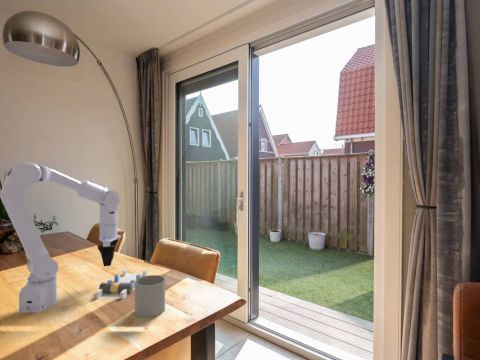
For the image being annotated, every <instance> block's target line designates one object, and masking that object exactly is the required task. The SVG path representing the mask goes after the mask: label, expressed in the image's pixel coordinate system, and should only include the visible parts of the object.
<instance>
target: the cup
mask: <svg viewBox="0 0 480 360" xmlns="http://www.w3.org/2000/svg"><path fill="white" fill-rule="evenodd" d="M165 311H166V277H164V276H162V275H158V274H157V275H156V274H154V275H152V274H151V275H146V276H144V277H140V278H138V279H137V280H136V281H135V288H134V315H135V316H136V317H138V318H141V319H150V318H155V317H158V316H161V315H163V313H165Z"/></svg>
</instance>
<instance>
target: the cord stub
mask: <svg viewBox="0 0 480 360" xmlns="http://www.w3.org/2000/svg"><path fill="white" fill-rule="evenodd" d="M132 288H133V284H132V283H115V282H112V283H107V282H101V283H100V284H99V287H98V290H99V289H102V293H121V292H122V291H123V290H124V289H127V293H129V294H131V293H132V291H133V290H132Z"/></svg>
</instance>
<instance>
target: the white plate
mask: <svg viewBox="0 0 480 360" xmlns="http://www.w3.org/2000/svg"><path fill="white" fill-rule="evenodd" d="M128 269H129V268H124V269H123V270H122V276H121V274H114V276H113V277H114V282H113V279H107V282H106V283H132V284H133V288H132V291H133V290H135V281H136V280H137V279H138V278H140V277H144V276H148V272H149V268H144V269H143V270H142V273H129V272H128V271H129V270H128ZM129 294H130V293H127V289H124V290H123V291H122V292H121V293H102V289H99V288H98V290H97V291H96V292H95V293H94V299H95V300H124V299H126V297H127V296H128V295H129Z"/></svg>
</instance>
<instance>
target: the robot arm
mask: <svg viewBox="0 0 480 360" xmlns="http://www.w3.org/2000/svg"><path fill="white" fill-rule="evenodd" d="M38 182H51V183H54V184H57V185H60V186H62V187H65V188H69V189H71V190H73V191H75V192H76V194H77V196H78V197H81V198H84V199H86V200H87V201H88V200H89V201H91V202H94V203H98V205H99V237H98V240H99V241H100V242H101V244H100V245H97V250H98V251H99V253H100V255H101V260H102V264H103V267H111V266H112V262H113V259H114V256H115V251H116V247H117V243H118V242H119V239H121V238H122V235H118V207H119V204H120V203H121V201H122V200H121V199H122V198H121V197H120V195H119V193H118V192H117V191H116V190H111V189H108V187H107V186H102V185H99V184H97V183H95V180H92V179H89V180H88V179H85V180H82V181H79V180H78V179H76V178H73V177H71V176H68V175H66V174H64V173H62V172H59V171H58V170H55V169H53V168H50V167H47V166H44V165H39V164H36V163H34V162H31V161H24V162H19V163H16V164H14V165H13V166H12V167H11V168H10V169H9V170H8V171H7V172H6V173H5V179H4V183H3V185H2V188H1V192H0V199H1V202H2V204H3V206H4V209H5V211H6V212H7V215H8V218H9V219H10V221H11V223H12V226H13V227H14V231H15V232H16V234H17V237H18V239H19V240H20V243H21V245H22V247H23V250H24V253H25V256H26V258H27V263H26V267H27V270H28V271H29V272H30V274H29V276H28V277H27V282H26V284H25V285H24V286H23V287H22V288H21V289H20V291H19V293H18V305H19V306H18V312H16V314H15V315H18V314H19V313H21V314H23V313H24V314H27V313H29V314H40V313H42V312H43V311H45V310H46V309H48V308H50V307H51V306H52V307H53V306H54V305H56V303H57V300H58V299H57V294H58V293H57V292H58V291H57V287H58V286H57V280H58V279H57V278H58V277H57V273H58V272H59V271H58V270H59V265H58V262H57V261H56V260H55V259H54V258H52V257H51V256H50V253H49V251H48V250H47V249H46V246H45V244H44V243H43V240H42V238H41V235H40V233H39V230H38V229H37V227H36V224H35V222H34V219H33V217H32V215H31V213H30V211H29V207H28V206H27V204H26V201H25V199H24V196H26V194H27V193H28V190H30V188H31V187H33V186H34V185H36V183H38Z"/></svg>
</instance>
